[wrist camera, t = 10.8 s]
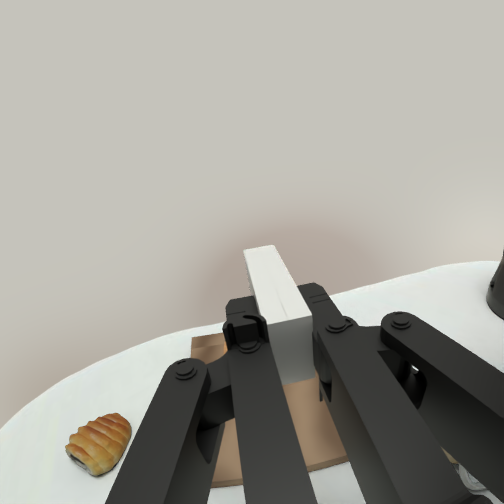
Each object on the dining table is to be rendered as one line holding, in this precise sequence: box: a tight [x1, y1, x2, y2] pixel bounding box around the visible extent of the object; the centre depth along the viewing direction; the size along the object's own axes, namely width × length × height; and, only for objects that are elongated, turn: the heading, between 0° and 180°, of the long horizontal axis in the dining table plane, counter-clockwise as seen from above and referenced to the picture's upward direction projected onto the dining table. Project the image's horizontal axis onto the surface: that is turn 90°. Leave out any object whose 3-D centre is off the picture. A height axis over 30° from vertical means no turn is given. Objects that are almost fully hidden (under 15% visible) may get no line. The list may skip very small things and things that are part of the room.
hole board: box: [191, 333, 349, 488], centre depth 37 cm, size 20×26×2 cm
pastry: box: [65, 413, 131, 475], centre depth 29 cm, size 9×7×4 cm
